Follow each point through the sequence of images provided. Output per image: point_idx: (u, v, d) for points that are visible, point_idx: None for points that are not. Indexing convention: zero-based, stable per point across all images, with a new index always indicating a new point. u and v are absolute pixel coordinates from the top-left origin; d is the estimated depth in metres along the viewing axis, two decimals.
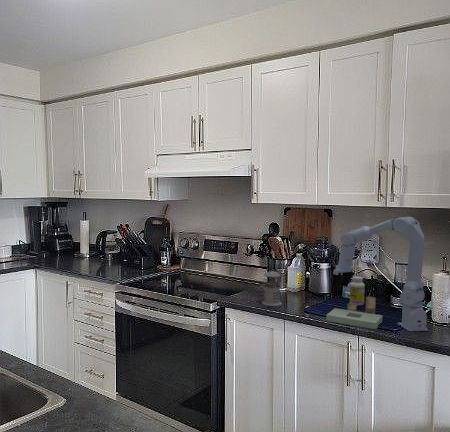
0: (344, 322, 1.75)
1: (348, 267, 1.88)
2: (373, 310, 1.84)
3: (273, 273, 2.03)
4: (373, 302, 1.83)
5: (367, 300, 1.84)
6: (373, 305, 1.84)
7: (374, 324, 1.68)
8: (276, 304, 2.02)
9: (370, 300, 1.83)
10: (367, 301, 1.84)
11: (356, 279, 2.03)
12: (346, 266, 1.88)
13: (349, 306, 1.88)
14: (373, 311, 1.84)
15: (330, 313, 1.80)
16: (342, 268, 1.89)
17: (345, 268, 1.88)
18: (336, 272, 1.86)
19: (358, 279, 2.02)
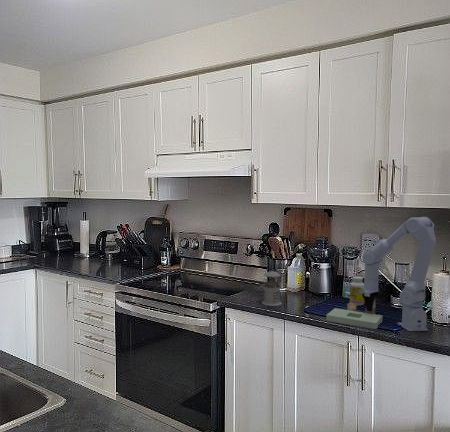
0: (344, 322, 1.75)
1: (376, 286, 1.83)
2: (373, 310, 1.84)
3: (273, 273, 2.03)
4: None
5: None
6: (373, 305, 1.84)
7: (374, 324, 1.68)
8: (276, 304, 2.02)
9: None
10: None
11: (356, 279, 2.03)
12: (374, 286, 1.82)
13: (349, 306, 1.88)
14: (373, 311, 1.84)
15: (330, 313, 1.80)
16: (371, 288, 1.82)
17: (374, 288, 1.82)
18: (368, 294, 1.79)
19: (358, 279, 2.02)
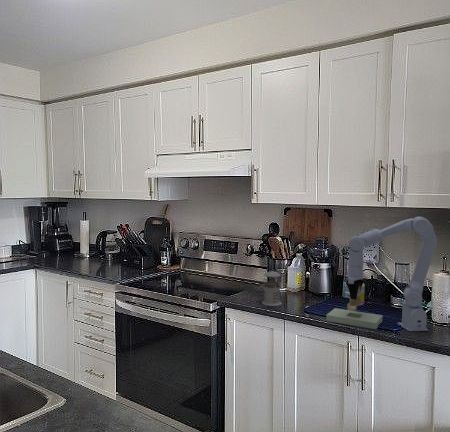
0: (344, 322, 1.75)
1: (361, 274, 1.75)
2: (357, 298, 1.76)
3: (273, 273, 2.03)
4: None
5: None
6: (358, 293, 1.76)
7: (374, 324, 1.68)
8: (276, 304, 2.02)
9: None
10: None
11: None
12: (359, 273, 1.74)
13: (349, 306, 1.88)
14: (357, 299, 1.76)
15: (330, 313, 1.80)
16: (355, 275, 1.74)
17: (358, 275, 1.74)
18: (351, 281, 1.71)
19: None
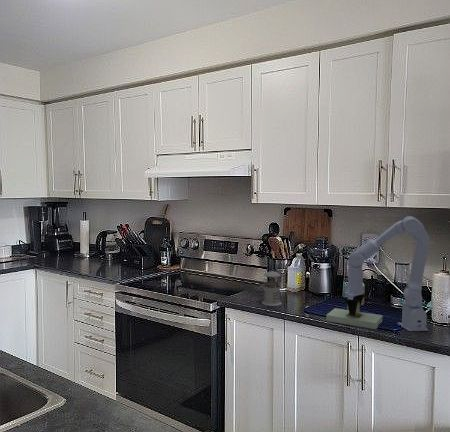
0: (344, 322, 1.75)
1: (360, 289, 1.75)
2: (357, 315, 1.76)
3: (273, 273, 2.03)
4: (357, 307, 1.76)
5: None
6: (357, 310, 1.76)
7: (374, 324, 1.68)
8: (276, 304, 2.02)
9: None
10: None
11: None
12: (358, 288, 1.75)
13: None
14: (357, 316, 1.77)
15: (330, 313, 1.80)
16: (355, 291, 1.75)
17: (358, 291, 1.75)
18: (351, 297, 1.71)
19: None
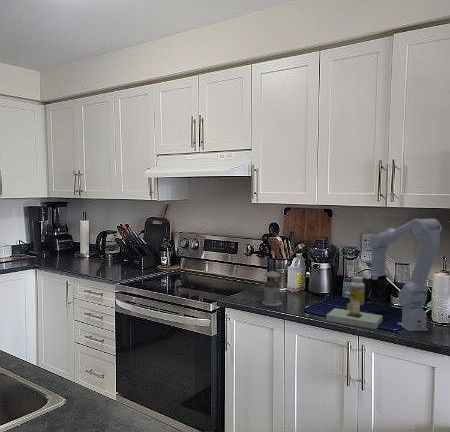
0: (344, 322, 1.75)
1: (383, 270, 1.85)
2: (357, 315, 1.76)
3: (273, 273, 2.03)
4: (357, 306, 1.76)
5: (351, 304, 1.77)
6: (358, 310, 1.76)
7: (374, 324, 1.68)
8: (276, 304, 2.02)
9: (354, 304, 1.76)
10: (351, 305, 1.77)
11: (356, 279, 2.03)
12: (381, 269, 1.85)
13: (349, 306, 1.88)
14: (357, 316, 1.77)
15: (330, 313, 1.80)
16: (378, 272, 1.85)
17: (381, 271, 1.85)
18: (375, 277, 1.81)
19: (358, 279, 2.02)
